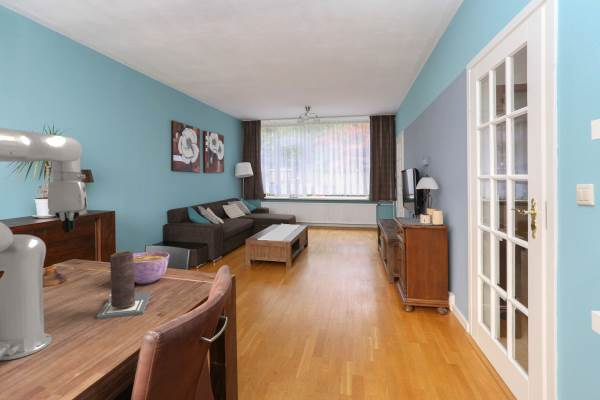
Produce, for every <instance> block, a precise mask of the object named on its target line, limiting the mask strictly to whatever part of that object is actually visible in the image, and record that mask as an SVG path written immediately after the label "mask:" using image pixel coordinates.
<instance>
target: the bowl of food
mask: <svg viewBox="0 0 600 400" xmlns="http://www.w3.org/2000/svg"><path fill="white" fill-rule="evenodd" d="M169 260H170V254H169V252H164V251H145V252H137V253H133V265H134V283H136V284H138V285H148V284H153V283H155V282H156V281H157V280H160V279H161V278H162V277H163V276H164V275H165V274H166V272H167V268H168V265H169Z"/></svg>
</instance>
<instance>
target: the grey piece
mask: <svg viewBox="0 0 600 400" xmlns="http://www.w3.org/2000/svg"><path fill="white" fill-rule="evenodd" d="M151 294H152V291H151V290H150V291H140V292H135V305H134V306H130V307H123V308H115V307H112V304H111V293H110V294H109V295H108V300H107V302H106V303H105V304H104V305H103V306H102V308H101V310H100V311H99V312H98V313H97V315H96V320H102V319H112V318H119V317H127V316H137V315H143V314H144V312H145V310H146V307H147V304H148V302H149V300H150V297H151ZM111 317H112V318H111Z"/></svg>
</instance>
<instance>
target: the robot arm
mask: <svg viewBox="0 0 600 400" xmlns="http://www.w3.org/2000/svg"><path fill="white" fill-rule="evenodd" d="M82 153H83V148H82V145H81V143H80V141H79V140H78V139H75V138H74V137H72V136H67V135H60V134H59V135H58V134H51V133H44V132H43V133H41V132H33V131H27V130H21V129H11V128H4V127H0V162H7V163H8V162H12V163H13V162H15V163H17V162H19V163H25V162H26V163H28V162H52V163H51V166H52V169H51V170H52V181H50V183H49V188H48V191H47V192H48V193H47V209H48V211H47V214H48V215H50V216H53V217H55V216H56V217H57V218H58V219H59V220H60V221H61V222H62V223H61V224H62V230H63V233H64V234H65V233H67V234H68V233H72V232H74V230H75V227H76V226H75V225H76V224H75V223H76V222H75V221H76V219H77V218H78V217H80V216H82V215H86V214H88V210H87V209H88V205H89V204H88V195H87V190H86V185H85V182H84V181H82V180H83V179H86V178H87V177H86V174H82V172H81V157H82ZM67 212H69V215H68V213H67ZM46 253H47V247H46V244H45V241H43V240H42V239H41V238H40V237H38V236H35V235H32V234H13V231H12V229H10V228H9V227H8V226H7V225H6V224H5V223H3V222H2V221H0V271H1V272H3V274H2V276H1V277H0V361H8V360H16V359H20V358H24V357H27V356H30V355H33V354H35V353H37V352H39V351H41V350H43V349H45V348H47V346H49V345H50V344H51V343H52V340H53V338H52V335H51V334H50V333H47V332H45V317H44V316H45V315H44V314H45V313H44V311H45V310H44V289H43V288H44V287H43V286H42V275H43V269H44V264H45V263H44V262H45V258H46Z"/></svg>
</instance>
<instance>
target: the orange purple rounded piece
mask: <svg viewBox="0 0 600 400" xmlns="http://www.w3.org/2000/svg"><path fill="white" fill-rule="evenodd" d="M67 281H68V277H67V276H66V275H65V274H62V273H59V272H58V268H57V266H47V267H45V270H44V273H42V286H43V288H47V287H55V286H58V285H62V284H65V283H66V282H67Z"/></svg>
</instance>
